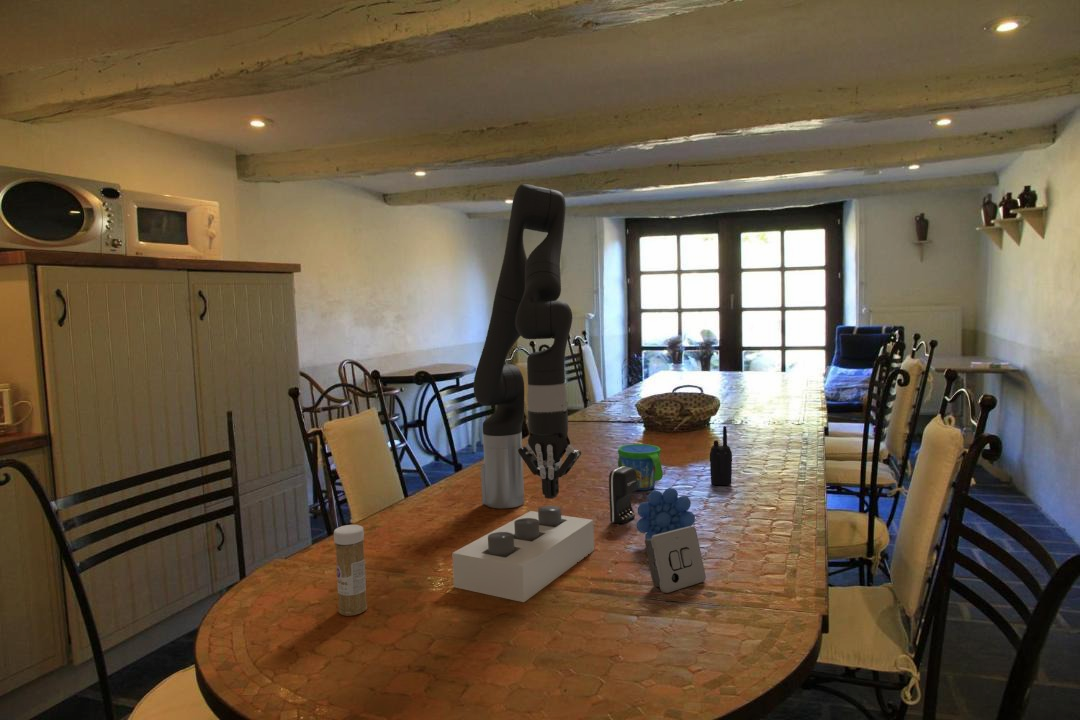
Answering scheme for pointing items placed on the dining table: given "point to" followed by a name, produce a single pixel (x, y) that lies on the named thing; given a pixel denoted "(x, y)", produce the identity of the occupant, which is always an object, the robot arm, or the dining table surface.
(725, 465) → the two-way radio
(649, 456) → the snack cup
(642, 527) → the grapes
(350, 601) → the sprinkles bottle
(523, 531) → the knob
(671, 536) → the electrical switch
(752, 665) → the dining table surface
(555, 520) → the knob
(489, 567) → the knob panel
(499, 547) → the knob
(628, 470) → the battery charger
